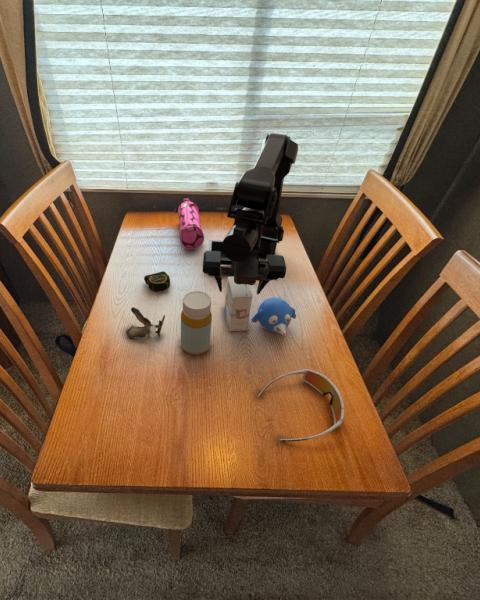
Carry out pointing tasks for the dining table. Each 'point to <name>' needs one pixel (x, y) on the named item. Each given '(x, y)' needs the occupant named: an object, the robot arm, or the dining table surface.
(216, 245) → the holder
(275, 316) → the blue mole toy
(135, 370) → the dining table surface
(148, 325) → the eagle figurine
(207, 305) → the bottle
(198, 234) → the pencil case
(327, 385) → the sunglasses
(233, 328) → the ink box
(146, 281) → the tape measure
